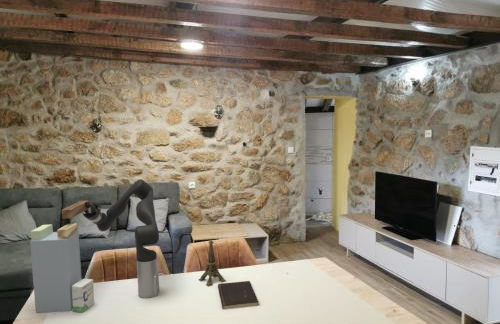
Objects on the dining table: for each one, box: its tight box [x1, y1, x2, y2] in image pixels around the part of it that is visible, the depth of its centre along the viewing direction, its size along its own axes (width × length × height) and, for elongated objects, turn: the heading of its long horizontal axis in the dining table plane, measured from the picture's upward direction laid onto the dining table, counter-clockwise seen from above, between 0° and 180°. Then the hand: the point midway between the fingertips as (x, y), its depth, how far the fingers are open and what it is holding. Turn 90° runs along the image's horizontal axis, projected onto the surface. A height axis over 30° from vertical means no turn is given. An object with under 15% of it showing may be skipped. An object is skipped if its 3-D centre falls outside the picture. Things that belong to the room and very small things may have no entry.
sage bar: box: [30, 223, 54, 241], centre depth 163 cm, size 4×11×4 cm, turn 4°
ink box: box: [72, 278, 95, 313], centre depth 163 cm, size 9×5×12 cm, turn 168°
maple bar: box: [56, 222, 78, 239], centre depth 164 cm, size 4×11×4 cm, turn 4°
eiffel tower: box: [198, 240, 227, 287], centre depth 189 cm, size 11×11×25 cm
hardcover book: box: [217, 280, 260, 310], centre depth 172 cm, size 16×23×2 cm
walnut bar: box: [61, 200, 90, 220], centre depth 178 cm, size 4×22×4 cm, turn 4°
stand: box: [29, 230, 83, 314], centre depth 165 cm, size 15×13×32 cm
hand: (81, 203), depth 184 cm, fingers closed on walnut bar, 4 cm apart
